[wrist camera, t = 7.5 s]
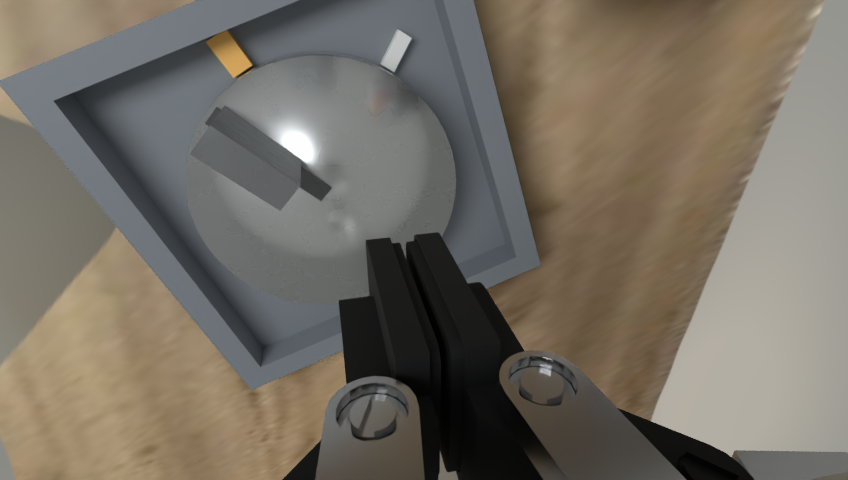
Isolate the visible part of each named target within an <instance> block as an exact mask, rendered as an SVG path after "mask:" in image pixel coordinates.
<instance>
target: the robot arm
mask: <svg viewBox="0 0 848 480" xmlns="http://www.w3.org/2000/svg"><path fill="white" fill-rule="evenodd" d="M366 257H367V270H368V284H369V296H367V297H359V298H351V299H344V300H339V311H340V321H341V332H342V342H343V352H344V362H345V372H346V382H347V384H346V385H345V386H344V387H342V388H341V389H340V390H338V391H337V392H336V393H335V395H334V396H333V397H332V399H331V400H330V401H329V404H328V407H327V409H326V412H325V419H324V425H323V432H322V438H321V441H320V442H319V443H318V444H317V445H316V446H315V447H314V448H313V449H312V450H311V451H310V452H309V453H308V454H307V455H306V456H305V457H304V458H303V459H302V460H301V461H300V462H299V463H298V464H297V465H296V466H295V467H294V468H293V469H292V470H291V471H290V472H289V474H288V475H287V476H286V477H285V478H284V479H283V480H848V453H846V452H795V451H792V452H791V451H790V452H789V451H734V453H733V455H732V457H730V456H729V455H728V454H726V453H724V452H723V451H720V450H718V449H716V448H715V447H713V446H711V445H708V444H706V443H703V442H701V441H698V440H696V439H693V438H691V437H688V436H686V435H683V434H681V433H678V432H676V431H673V430H671V429H668V428H666V427H663V426H661V425H658V424H656V423H653V422H651V421H648V420H646V419H643V418H641V417H638V416H636V415H633V414H631V413H628V412H626V411H623V410H621V409H618V408H616V406H615V405H614V404H613V403H612V402H611V401H610V400H609V399H608V398H607V397H606V396H605V395H604V394H603V393H602V392H601V391H600V390H599V389H598V388H597V387H596V386H595V385H594V384H593V383H592V382H591V381H590V380H589V379H588V378H587V377H586V376H585V375H584V373H583V372H582V371H581V370H580V369H579V368H577V367H576V366H575V365H574V364H573V363H571V362H570V361H569V360H567V359H565V358H563V357H561V356H559V355H557V354H553V353H549V352H545V351H534V350H530V351H524V349H523V348H522V346H521V345H520V343H519V341H518V340H517V338H516V337H515V335H514V333H513V332H512V330H511V328H510V327H509V325H508V324H507V322H506V320H505V319H504V317H503V316H502V314H501V312H500V311H499V309H498V307H497V306H496V304H495V303H494V301H493V299H492V298H491V296H490V295H489V293H488V291H487V290H486V288H485V286H484V285H483V284H482V283H481V282H474V283H467V281H466V279H465V278H464V276H463V274H462V272H461V270H460V269H459V267H458V265H457V263H456V262H455V260H454V258H453V256H452V255H451V253H450V251H449V249H448V248H447V246H446V244H445V242H444V240H443V239H442V237H441V235H440V234H439V232H436V233H426V234H417V235H414V241H409V242H406V257H405V255H404V252H403V250H402V247H401V244H400V243H392V242H391V239H390V237H389V238H379V239H370V240H366Z"/></svg>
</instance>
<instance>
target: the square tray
mask: <svg viewBox="0 0 848 480" xmlns="http://www.w3.org/2000/svg"><path fill="white" fill-rule="evenodd" d="M307 51H328V52H335V53H343V54H347V55H351V56H355V57H358V58H362V59H365V60H367V61H369V62H372V63H374V64H376V65H379V66H381V67H382V68H384V69H386V70H387V71H389V72H391V73H392V74H394V75H396V76H397V77H398V78H399V79H401V80H402V81H403V82H404V83H406V84H407V85H408V86H409V87H410V88H412V89H413V90H414V91H415V92H416V93H417V94H418V95H419V96H420V97H421V98H422V99H423V100H424V101H425V102H426V104H427V105H428V106H429V107H430V109H431V110H432V111H433V113H434V114H435V116H436V117H437V118H438V120H439V122H440V124H441V126H442V127H443V129H444V131H445V133H446V136H447V138H448V141H449V144H450V146H451V149H452V154H453V158H454V163H455V172H456V192H455V199H454V205H453V210H452V213H451V216H450V219H449V222H448V225H447V227H446V229H445V231H444V233H443V235H442V239H443V240H444V242H445V244H446V246H447V248H448V249H449V251H450V253H451V255H452V256H453V258H454V260H455V262H456V263H457V265H458V267H459V269H460V270H461V272H462V274H463V276H464V278H465V279H466V281H467V283H474V282H481V283H482V284H483V285H484V286H485V288H486V289H487V288H489V287H492V286H494V285H496V284H498V283H501V282H503V281H505V280H508V279H510V278H512V277H515V276H517V275H519V274H522V273H524V272H526V271H529V270H531V269H533V268H536V267H538V266H540V261H539V257H538V253H537V249H536V245H535V241H534V237H533V233H532V229H531V225H530V221H529V217H528V213H527V209H526V205H525V201H524V197H523V194H522V190H521V186H520V182H519V178H518V174H517V170H516V166H515V162H514V158H513V154H512V150H511V146H510V142H509V138H508V134H507V130H506V127H505V123H504V119H503V115H502V111H501V107H500V103H499V99H498V95H497V91H496V87H495V83H494V79H493V75H492V71H491V67H490V63H489V59H488V56H487V52H486V48H485V44H484V40H483V36H482V32H481V28H480V24H479V20H478V16H477V12H476V8H475V4H474V0H197V1H195V2H192V3H190V4H187V5H185V6H182V7H180V8H178V9H175V10H173V11H170V12H168V13H165V14H163V15H160V16H158V17H155V18H153V19H150V20H148V21H146V22H143V23H141V24H138V25H136V26H133V27H131V28H128V29H126V30H123V31H121V32H118V33H116V34H114V35H111V36H109V37H106V38H104V39H101V40H99V41H96V42H94V43H91V44H89V45H86V46H84V47H82V48H79V49H77V50H74V51H72V52H69V53H67V54H64V55H62V56H59V57H57V58H54V59H52V60H50V61H47V62H45V63H42V64H40V65H37V66H35V67H32V68H30V69H27V70H25V71H22V72H20V73H18V74H15V75H13V76H10V77H8V78H5V79H3V80H0V86H1V87H2V89H3V90H4V91H5V92H6V93H7V95H8V96H9V97H10V98H11V99H12V101H13V102H14V103H15V104H16V105H17V107H18V108H19V109H20V110H21V112H22V113H23V114H24V115H25V116H26V118H27V119H28V120H29V121H30V122H31V124H32V125H33V126H34V127H35V129H36V130H37V131H38V132H39V133H40V135H41V136H42V137H43V138H44V139H45V141H46V142H47V143H48V144H49V145H50V147H51V148H52V149H53V150H54V152H55V153H56V154H57V155H58V156H59V158H60V159H61V160H62V161H63V162H64V164H65V165H66V166H67V167H68V169H69V170H70V171H71V172H72V173H73V174H74V176H75V177H76V178H77V179H78V181H79V182H80V183H81V184H82V185H83V187H84V188H85V189H86V190H87V191H88V193H89V194H90V195H91V196H92V198H93V199H94V200H95V201H96V202H97V204H98V205H99V206H100V207H101V208H102V210H103V211H104V212H105V213H106V215H107V216H108V217H109V218H110V219H111V220H112V222H113V223H114V224H115V225H116V227H117V228H118V229H119V230H120V232H121V233H122V234H123V235H124V236H125V238H126V239H127V240H128V241H129V242H130V244H131V245H132V246H133V247H134V248H135V250H136V251H137V252H138V253H139V255H140V256H141V257H142V258H143V259H144V261H145V262H146V263H147V264H148V265H149V267H150V268H151V269H152V270H153V272H154V273H155V274H156V275H157V276H158V278H159V279H160V280H161V281H162V282H163V284H164V285H165V286H166V287H167V288H168V290H169V291H170V292H171V293H172V295H173V296H174V297H175V298H176V299H177V301H178V302H179V303H180V304H181V305H182V307H183V308H184V309H185V310H186V312H187V313H188V314H189V315H190V316H191V318H192V319H193V320H194V321H195V322H196V324H197V325H198V326H199V327H200V328H201V330H202V331H203V332H204V333H205V335H206V336H207V337H208V338H209V339H210V341H211V342H212V343H213V344H214V345H215V347H216V348H217V349H218V350H219V351H220V353H221V354H222V355H223V356H224V358H225V359H226V360H227V361H228V362H229V364H230V365H231V366H232V367H233V368H234V370H235V371H236V372H237V373H238V375H239V376H240V377H241V378H242V379H243V381H244V382H245V383H246V384H247V385H248V387H249V388H250V389H251V390H253V389H255V388H257V387H260V386H262V385H264V384H267V383H269V382H271V381H274V380H276V379H278V378H280V377H283V376H285V375H287V374H290V373H292V372H294V371H297V370H299V369H301V368H304V367H306V366H308V365H311V364H313V363H315V362H318V361H320V360H322V359H325V358H327V357H329V356H332V355H334V354H336V353H338V352H341V351H343V342H342V332H341V321H340V311H339V303H336V304H309V303H300V302H295V301H290V300H285V299H282V298H279V297H276V296H272V295H269V294H267V293H265V292H263V291H260V290H258V289H256V288H254V287H252V286H251V285H249V284H247V283H246V282H244V281H242V280H241V279H239V278H238V277H237V276H235V275H234V274H233V273H232V272H230V271H229V270H228V269H227V268H226V267H225V266H224V265H223V264H222V263H221V262H220V261H219V260H218V259H217V258H216V257H215V256H214V255H213V253H212V252H211V251H210V250H209V248H208V247H207V246H206V244H205V243H204V241H203V239H202V238H201V236H200V234H199V232H198V231H197V229H196V226H195V224H194V221H193V219H192V216H191V214H190V210H189V205H188V201H187V197H186V186H185V171H186V160H187V156H188V151H189V147H190V143H191V141H192V138H193V136H194V133H195V131H196V128H197V126H198V125H199V123H200V121H201V120H202V118H203V116H204V115H205V113H206V111H207V110H208V109H209V108H210V106H211V105H212V104H213V103H214V102H215V100H216V99H217V98H218V97H219V96H220V94H221V93H222V92H223V91H224V90H225V89H226V88H227V87H228V86H229V85H230V84H231V83H233V82H234V81H235V80H236V79H237V78H238V77H240V76H241V75H243V74H244V73H246V72H247V71H249V70H250V69H252V68H253V67H256V66H258V65H260V64H262V63H264V62H266V61H269V60H271V59H274V58H278V57H281V56H284V55H288V54H294V53H300V52H307Z"/></svg>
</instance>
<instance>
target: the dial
mask: <svg viewBox="0 0 848 480" xmlns="http://www.w3.org/2000/svg"><path fill="white" fill-rule="evenodd" d="M185 186H186V197H187V201H188V205H189V210H190V214H191V216H192V219H193V221H194V224H195V226H196V229H197V231H198V232H199V234H200V236H201V238H202V239H203V241H204V243H205V244H206V246H207V247H208V248H209V250H210V251H211V252H212V253H213V255H214V256H215V257H216V258H217V259H218V260H219V261H220V262H221V263H222V264H223V265H224V266H225V267H226V268H227V269H228V270H229V271H230V272H232V273H233V274H234V275H235V276H237V277H238V278H239V279H241V280H242V281H244V282H246V283H247V284H249V285H251V286H252V287H254V288H256V289H258V290H260V291H263V292H265V293H267V294H269V295H272V296H276V297H279V298H282V299H285V300H290V301H295V302H300V303H309V304H336V303H339V300H344V299H351V298H359V297H367V296H369V284H368V270H367V257H366V240H370V239H379V238H389V237H390V239H391V242H392V243H400V244H401V247H402V250H403V252H404V255H405V257H406V242H409V241H414V235H417V234H426V233H436V232H439V234H440V235H441V237H442V235H443V233H444V231H445V229H446V227H447V225H448V222H449V219H450V216H451V213H452V210H453V205H454V199H455V192H456V172H455V163H454V158H453V154H452V149H451V146H450V144H449V141H448V138H447V136H446V133H445V131H444V129H443V127H442V126H441V124H440V122H439V120H438V118H437V117H436V116H435V114H434V113H433V111H432V110H431V109H430V107H429V106H428V105H427V104H426V102H425V101H424V100H423V99H422V98H421V97H420V96H419V95H418V94H417V93H416V92H415V91H414V90H413V89H412V88H410V87H409V86H408V85H407V84H406V83H404V82H403V81H402V80H401V79H399V78H398V77H397V76H396V75H394V74H392V73H391V72H389V71H387V70H386V69H384V68H382V67H381V66H379V65H376V64H374V63H372V62H369V61H367V60H365V59H362V58H358V57H355V56H351V55H347V54H343V53H335V52H328V51H307V52H300V53H294V54H288V55H284V56H281V57H278V58H274V59H271V60H269V61H266V62H264V63H262V64H260V65H258V66H256V67H253V68H252V69H250V70H249V71H247V72H246V73H244V74H243V75H241V76H240V77H238V78H237V79H236V80H235V81H234V82H233V83H231V84H230V85H229V86H228V87H227V88H226V89H225V90H224V91H223V92H222V93H221V94H220V96H219V97H218V98H217V99H216V100H215V102H214V103H213V104H212V105H211V106H210V108H209V109H208V110H207V111H206V113H205V115H204V116H203V118H202V120H201V121H200V123H199V125H198V126H197V128H196V131H195V133H194V136H193V138H192V141H191V143H190V147H189V151H188V156H187V160H186V171H185Z"/></svg>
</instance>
